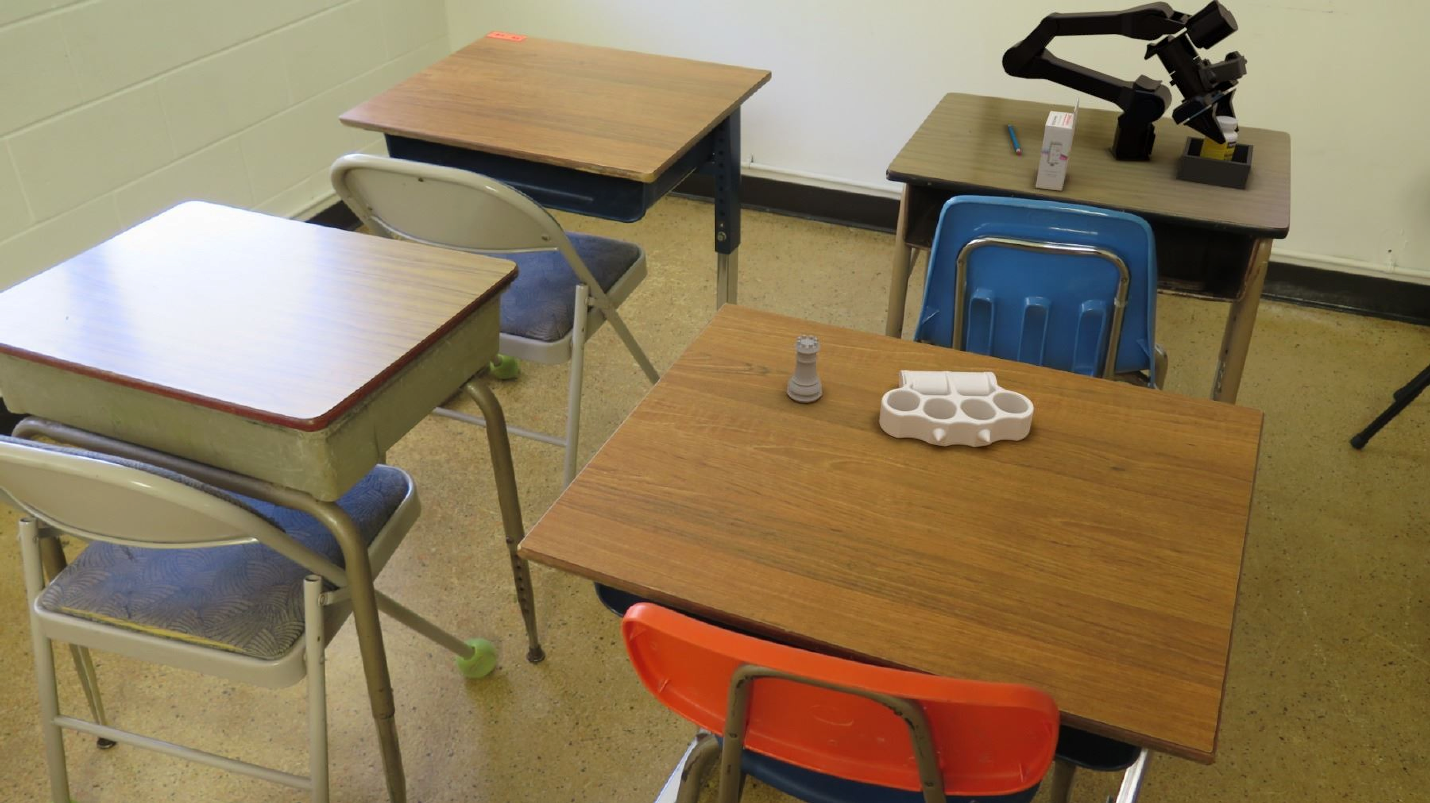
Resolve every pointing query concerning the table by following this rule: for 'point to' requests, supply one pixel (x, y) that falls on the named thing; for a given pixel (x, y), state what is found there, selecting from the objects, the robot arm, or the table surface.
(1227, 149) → the supplement bottle
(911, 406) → the knuckle duster
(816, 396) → the rook chess piece
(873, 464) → the table surface
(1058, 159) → the ink cartridge box
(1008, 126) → the pencil
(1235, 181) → the bin
